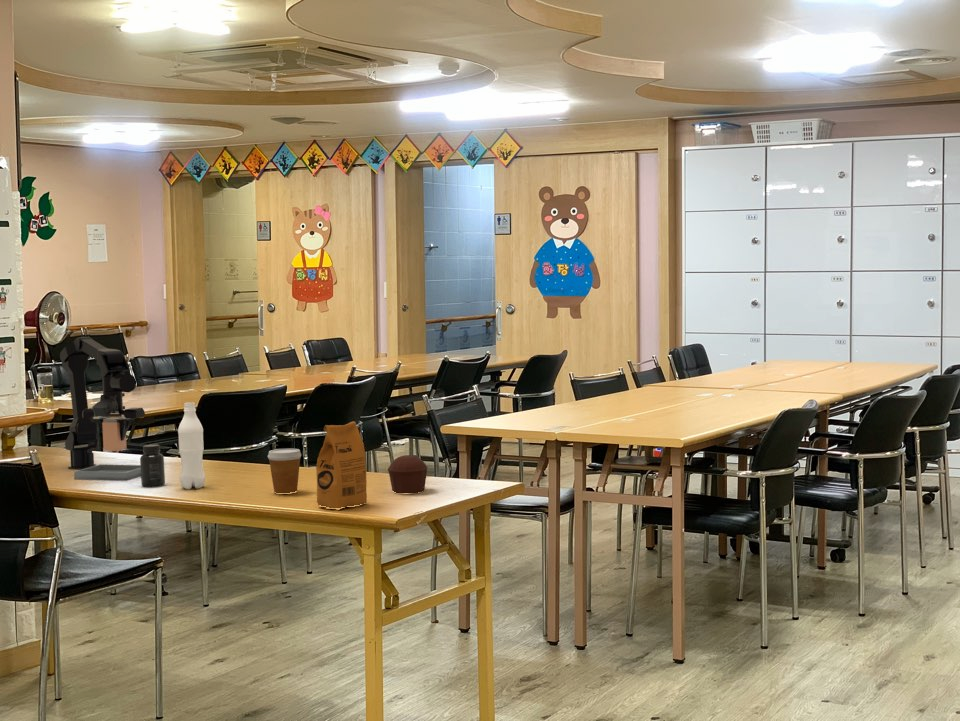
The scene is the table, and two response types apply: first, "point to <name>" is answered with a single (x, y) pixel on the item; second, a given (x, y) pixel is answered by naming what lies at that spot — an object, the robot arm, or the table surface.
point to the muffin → (407, 474)
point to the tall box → (112, 435)
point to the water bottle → (191, 448)
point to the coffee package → (341, 467)
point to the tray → (109, 472)
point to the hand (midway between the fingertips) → (114, 440)
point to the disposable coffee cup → (284, 469)
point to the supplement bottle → (152, 467)
